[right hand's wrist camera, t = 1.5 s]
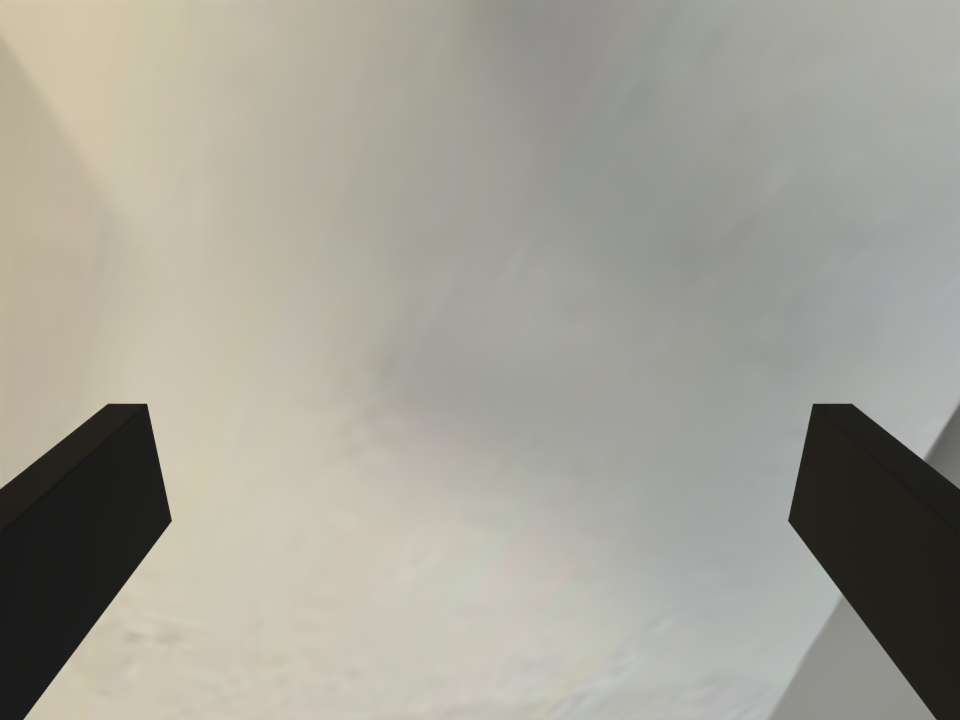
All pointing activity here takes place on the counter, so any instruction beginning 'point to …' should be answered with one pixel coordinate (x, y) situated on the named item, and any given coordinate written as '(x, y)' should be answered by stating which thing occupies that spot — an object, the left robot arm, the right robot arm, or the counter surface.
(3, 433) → the counter surface
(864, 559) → the right robot arm
